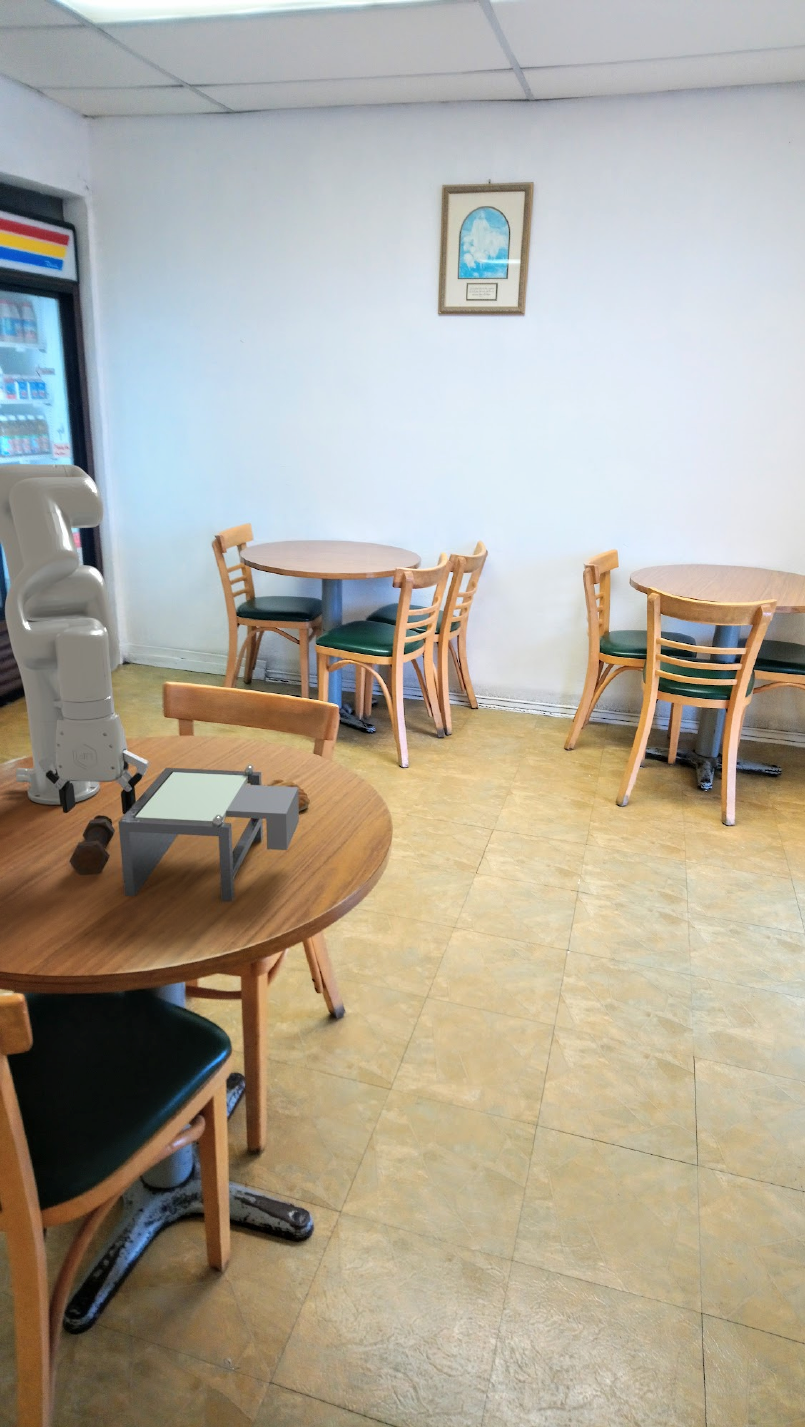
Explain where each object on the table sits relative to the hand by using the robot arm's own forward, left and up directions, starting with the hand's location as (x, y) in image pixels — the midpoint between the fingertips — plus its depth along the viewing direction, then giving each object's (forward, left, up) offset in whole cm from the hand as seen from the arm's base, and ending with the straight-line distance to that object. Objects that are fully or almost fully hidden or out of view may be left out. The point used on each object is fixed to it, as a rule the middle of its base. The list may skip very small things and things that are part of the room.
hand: (98, 810), depth 138 cm
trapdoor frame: (+16, -2, -8) cm, 18 cm away
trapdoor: (+21, -2, -1) cm, 21 cm away
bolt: (-1, 0, -8) cm, 8 cm away
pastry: (+26, +23, -8) cm, 36 cm away
